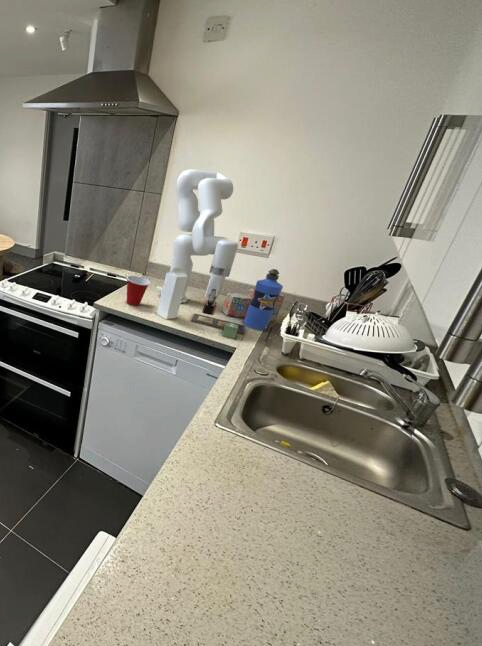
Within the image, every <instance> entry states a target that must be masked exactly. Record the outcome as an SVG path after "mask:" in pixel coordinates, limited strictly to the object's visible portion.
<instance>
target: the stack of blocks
mask: <svg viewBox="0 0 482 646" xmlns="http://www.w3.org/2000/svg"><path fill="white" fill-rule="evenodd" d="M254 291H255V288H249V290H248V293H246V294H244V293H235V292H227V294H226V297H225V300H224V302H223V306H222V308H221V312H223V313H224V314H225V316H227V317H236V318H244V319H245V316H246V313H247V311H248V308H249V305H250V303H251V301H252V299H253V296H254ZM284 299H285V295H283V294H282V292H281V293H280V294H279V296H278V298H277V300H276V302H275V306H274V311H273V313H272V316H271V319H270V322H276V320H277V318H278V315H279V312H280V310H281V308H282V305H283V302H284Z"/></svg>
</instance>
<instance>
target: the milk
mask: <svg viewBox="0 0 482 646" xmlns="http://www.w3.org/2000/svg"><path fill="white" fill-rule="evenodd" d="M183 270H184V267H175V268H173V271H171V272H170V271H169V272H166V274H165V278H164V282H163V286H162V288H163V290H162V292H161V293H162V294H161V293H160V295H161V296H160V298H159V302H158V307H157V311H156V315H158V316H159V317H162V318H163V319H165V320H170V319H177V318H178V314H179V310H180V306H181V304H182V303H181V299H182V295H183V292H184V288H185V284H186V280H187V275H186V274H185V272H184V271H183Z"/></svg>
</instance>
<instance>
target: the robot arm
mask: <svg viewBox="0 0 482 646" xmlns="http://www.w3.org/2000/svg"><path fill="white" fill-rule="evenodd" d="M175 189H176V190H175V191H176V195H177V196H176V197H177V201H178V202H177V204H178V205H177V207H178V208H177V209H178V210H177V216H178V217H177V226H178V230H179V231H181V232H186V233H184V234H180V235H178V236H177V237H176V238H175V239H174V242H173V253H172V260H171V263H170V269H169V272H171V271H173V268H175V267H184V270H183V271H184V272H185V274H186V275H187V280H186V284H185V288H184V292H183V295H182V299H181V303H180V304H183V303H187V302H188V297H187V296H186V294H187V290H188V285H189V282H190V278H191V275H192V271H193V267H194V263H193V260H192V256H193V257H194V256H198V257H199V256H200V257H204V256H205V257H206V256H209V255H211V256H212V255H213V257H212V260H211V264H210V268H209V272H208V273H209V274H210V277H209V280H208V284H207V287H206V291H205V294H204V298H206V299H207V304H206V305H205V309H204V312H203V313H202V314H205V315H207V316H208V315H210V316H213V315H212V311H213V308H214V302H216V300H218V299H219V296H220V294H221V292H222V289H223V286H224V283H225V280H226V278H228V277H230V274H231V271H232V268H233V265H234V261H235V257H236V255H237V251H238V248H239V244H238V242H236V241H233V240H230V239H229V238H227V237H225V236H217V235H216V236H215V219H216V218H219V217H220V216H221V215H222V213H223V205H222V204H223V203H222V200H228V199H229V198H231V197H232V195H233V193H234V183H233V181H232V180H231V179H230V178H228V177H227V176H225V175H223V174H222V173H220V172H218V171H215V170H203V169H186V170H184V171H182V172H181V173H180V174H179V176H178V178H177V181H176V187H175ZM194 191H197V195H196V193H195V192H194ZM187 233H189V234H187ZM162 290H163V287H161V286H158V285H157V286H156V287H155V291H157V292H160V297H161V294H162Z"/></svg>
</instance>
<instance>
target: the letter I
mask: <svg viewBox="0 0 482 646" xmlns="http://www.w3.org/2000/svg"><path fill="white" fill-rule="evenodd" d="M228 322H229V321H228ZM228 322H226V324H225V327H224V330H223V329H222V330H223V331H222V334H221V336H222V337H226V338H229V339H232V340H233V339H236V335H237V334H238V333H237V330H238V325H237V324H238V323H236V324H232V323H233V322H232V323H228Z"/></svg>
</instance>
